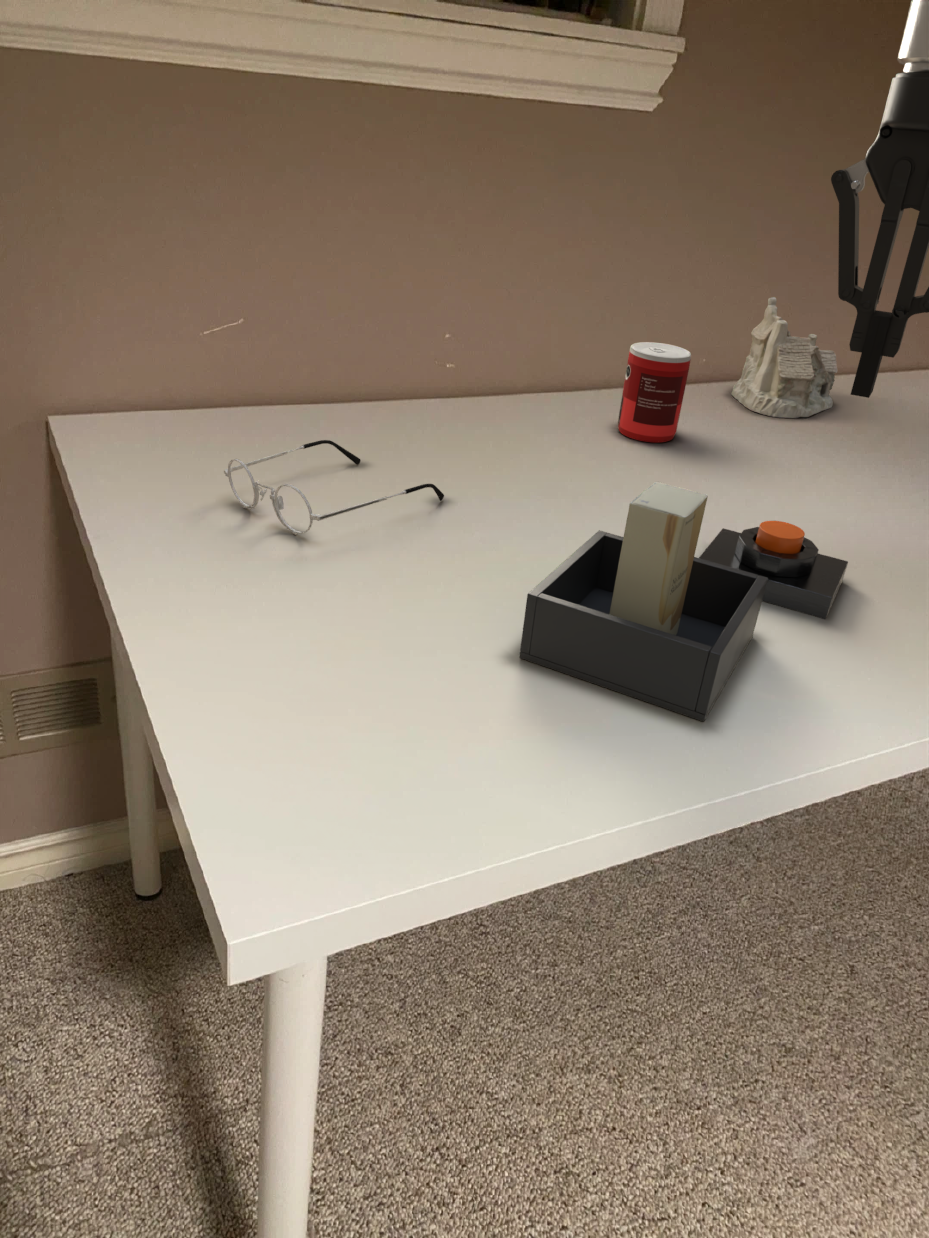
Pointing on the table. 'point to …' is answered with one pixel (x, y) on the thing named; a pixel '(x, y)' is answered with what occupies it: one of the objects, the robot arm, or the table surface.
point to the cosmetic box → (658, 556)
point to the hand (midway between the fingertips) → (861, 392)
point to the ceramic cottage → (785, 371)
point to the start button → (780, 537)
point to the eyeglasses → (278, 500)
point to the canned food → (653, 391)
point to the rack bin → (642, 630)
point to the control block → (782, 571)
